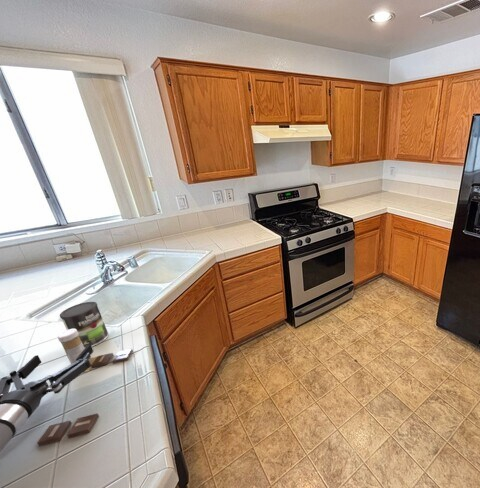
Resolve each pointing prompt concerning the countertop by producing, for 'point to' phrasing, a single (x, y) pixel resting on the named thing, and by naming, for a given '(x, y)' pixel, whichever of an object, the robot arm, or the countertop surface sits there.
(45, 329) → the countertop surface
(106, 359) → the chocolate bar
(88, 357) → the robot arm
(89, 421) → the brown chocolate squares
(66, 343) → the sprinkles bottle
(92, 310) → the coffee can
